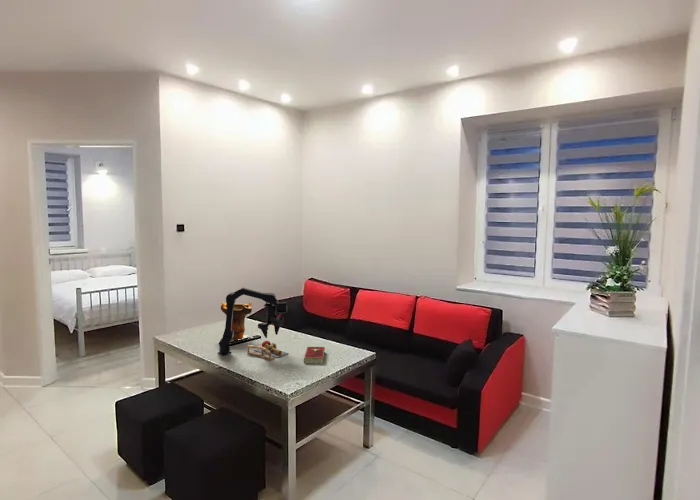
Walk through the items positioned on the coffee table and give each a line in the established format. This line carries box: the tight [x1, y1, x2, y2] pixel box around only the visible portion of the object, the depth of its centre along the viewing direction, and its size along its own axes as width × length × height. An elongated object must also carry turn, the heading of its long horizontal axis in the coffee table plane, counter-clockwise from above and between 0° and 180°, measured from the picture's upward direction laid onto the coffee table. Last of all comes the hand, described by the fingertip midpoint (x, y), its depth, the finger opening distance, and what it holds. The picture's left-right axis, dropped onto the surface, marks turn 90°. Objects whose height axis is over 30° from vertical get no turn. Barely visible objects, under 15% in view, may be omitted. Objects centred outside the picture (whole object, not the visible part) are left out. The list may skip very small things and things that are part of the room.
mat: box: [253, 348, 289, 359], centre depth 267 cm, size 22×10×1 cm, turn 55°
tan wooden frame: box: [246, 344, 275, 361], centre depth 259 cm, size 21×4×6 cm, turn 55°
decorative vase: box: [220, 301, 253, 342], centre depth 295 cm, size 21×23×28 cm
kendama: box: [261, 340, 282, 355], centre depth 266 cm, size 8×6×18 cm
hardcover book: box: [303, 346, 326, 364], centre depth 259 cm, size 12×21×4 cm, turn 1°
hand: (271, 336), depth 266 cm, fingers open, 9 cm apart
